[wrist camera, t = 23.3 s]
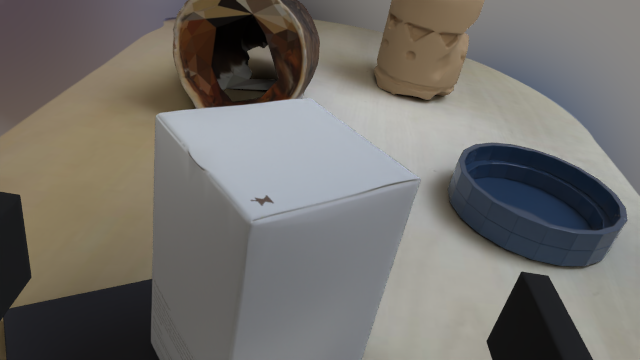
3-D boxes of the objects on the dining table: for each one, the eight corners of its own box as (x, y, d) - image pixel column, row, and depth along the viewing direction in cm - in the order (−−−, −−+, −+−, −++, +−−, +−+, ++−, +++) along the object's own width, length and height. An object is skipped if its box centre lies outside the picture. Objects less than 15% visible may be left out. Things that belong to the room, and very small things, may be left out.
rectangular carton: (356, 397, 30) (431, 179, 23) (212, 473, 25) (247, 224, 17) (275, 293, 36) (314, 93, 28) (146, 338, 31) (150, 108, 23)
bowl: (640, 250, 52) (660, 217, 50) (533, 285, 44) (553, 248, 42) (518, 166, 63) (531, 137, 61) (416, 182, 55) (427, 149, 53)
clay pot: (338, -10, 74) (316, -16, 51) (328, 97, 79) (305, 137, 56) (235, -19, 75) (168, -28, 52) (233, 88, 80) (170, 123, 57)
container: (392, 101, 74) (429, -32, 65) (360, 68, 84) (388, -51, 75) (466, 105, 78) (511, -19, 69) (428, 73, 88) (462, -39, 79)
